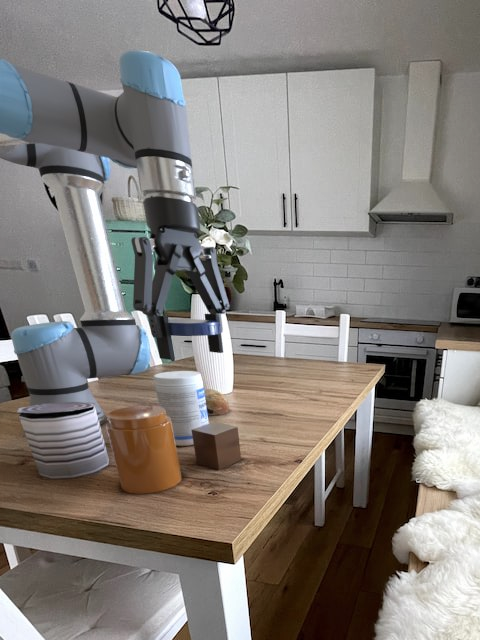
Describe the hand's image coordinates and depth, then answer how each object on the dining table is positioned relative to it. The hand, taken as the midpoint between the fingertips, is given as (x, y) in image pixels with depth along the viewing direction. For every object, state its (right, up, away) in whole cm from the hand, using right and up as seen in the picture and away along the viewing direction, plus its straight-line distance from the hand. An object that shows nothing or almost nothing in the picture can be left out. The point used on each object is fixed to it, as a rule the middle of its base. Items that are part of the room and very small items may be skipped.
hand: (193, 355), depth 68 cm
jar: (-8, -22, +1) cm, 23 cm away
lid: (0, +5, -2) cm, 5 cm away
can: (-25, -19, +6) cm, 32 cm away
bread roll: (-13, -2, +43) cm, 45 cm away
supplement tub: (-10, -13, +21) cm, 27 cm away
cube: (+1, -18, +10) cm, 21 cm away
